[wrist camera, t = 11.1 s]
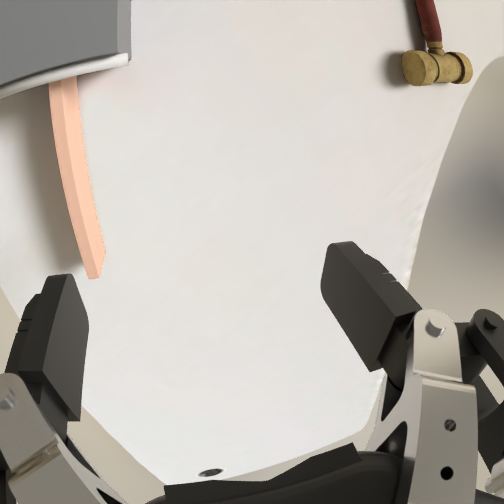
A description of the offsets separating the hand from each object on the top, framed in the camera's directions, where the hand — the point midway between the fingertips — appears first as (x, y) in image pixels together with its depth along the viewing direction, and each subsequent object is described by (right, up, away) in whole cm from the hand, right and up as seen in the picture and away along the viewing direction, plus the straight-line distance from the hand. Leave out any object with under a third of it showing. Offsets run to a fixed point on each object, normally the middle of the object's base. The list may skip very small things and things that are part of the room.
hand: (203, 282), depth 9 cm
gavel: (+22, +32, +17) cm, 43 cm away
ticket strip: (-15, +11, +17) cm, 25 cm away
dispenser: (-16, +25, +9) cm, 31 cm away
